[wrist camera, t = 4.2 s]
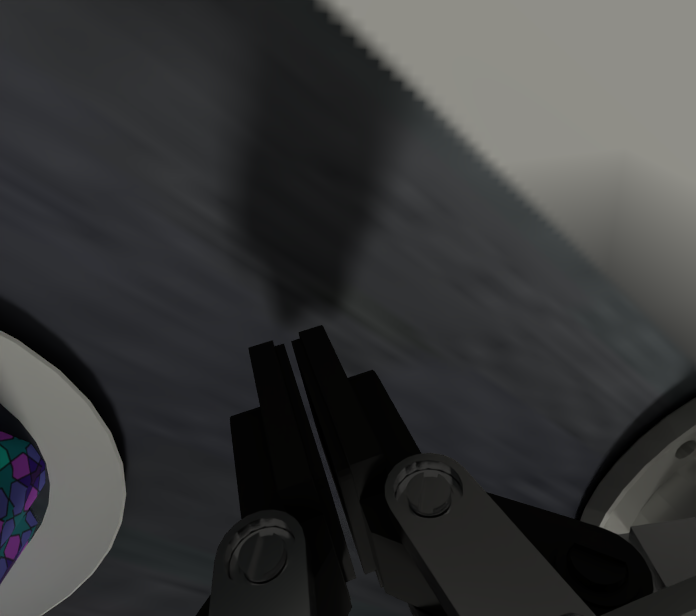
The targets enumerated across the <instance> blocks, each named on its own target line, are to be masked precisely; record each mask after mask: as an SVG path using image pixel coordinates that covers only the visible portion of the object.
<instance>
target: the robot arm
mask: <svg viewBox="0 0 696 616" xmlns="http://www.w3.org/2000/svg"><path fill="white" fill-rule="evenodd" d="M299 336H300V339H297V340H294V341H291V342H292V346H293V349H294V353H295V356H296V360H297V363H298V366H299V370H300V373H301V377H302V380H303V384H304V387H305V391H306V394H307V398H308V401H309V404H310V408H311V411H312V415H313V418H314V422H315V425H316V429H317V432H318V435H319V438H320V441H321V445H322V448H323V451H324V454H325V457H326V460H327V463H328V466H329V469H330V472H331V474H332V477H333V480H334V483H335V486H336V489H337V492H338V495H339V498H340V501H341V504H342V507H343V510H344V513H345V516H346V519H347V522H348V525H349V528H350V531H351V534H352V537H353V540H354V543H355V546H356V549H357V552H358V555H359V558H360V561H361V564H362V567H363V570H364V573H365V574H368V573H370V572H373V571H375V572H376V574H377V577H378V580H379V583H380V586H381V588H382V587H384V589H385V592H386V593H387V594H389V595H392V596H394V597H396V598H398V599H400V600H403V601H405V602H407V603H408V606H409V608H410V611H411V613H412V615H413V616H696V397H695V398H693V399H691V400H690V401H688V402H687V403H685V404H684V405H682V406H681V407H679V408H678V409H676V410H675V411H673V412H672V413H670V414H669V415H667V416H666V417H664V418H663V419H662V420H661V421H659V422H658V423H657V424H656V425H655V426H653V427H652V428H651V429H650V430H648V431H647V432H646V433H645V434H644V435H642V436H641V437H640V438H639V439H638V440H637V441H636V442H635V443H634V444H633V445H632V446H631V447H630V448H629V449H628V450H627V451H626V452H625V453H624V454H623V455H622V456H621V457H620V458H619V459H618V460H617V461H616V462H615V464H614V465H613V466H612V467H611V469H610V470H609V471H608V472H607V474H606V475H605V476H604V478H603V479H602V480H601V481H600V483H599V484H598V486H597V487H596V489H595V491H594V492H593V494H592V496H591V498H590V499H589V501H588V503H587V504H586V506H585V509H584V511H583V514H582V516H581V519H580V521H579V520H576V519H572V518H569V517H566V516H563V515H559V514H556V513H553V512H550V511H546V510H543V509H540V508H536V507H533V506H530V505H527V504H523V503H520V502H517V501H514V500H510V499H507V498H504V497H500V496H497V495H494V494H491V493H487V492H485V491H484V490H483V488H482V487H481V486H480V485H479V484H478V483H477V482H476V481H475V479H474V478H473V477H472V476H471V475H470V474H469V473H468V472H467V470H466V469H465V468H464V467H463V466H461V465H460V464H459V463H458V462H456V461H455V460H454V459H451V458H449V457H447V456H444V455H440V454H434V453H424V454H421V452H420V450H419V448H418V447H417V445H416V443H415V441H414V440H413V438H412V436H411V434H410V432H409V431H408V429H407V427H406V425H405V424H404V422H403V420H402V418H401V417H400V415H399V413H398V411H397V409H396V408H395V406H394V404H393V402H392V401H391V399H390V397H389V395H388V394H387V392H386V390H385V388H384V386H383V385H382V383H381V381H380V379H379V378H378V376H377V374H376V373H375V371H373V370H370V371H367V372H364V373H361V374H358V375H355V376H352V377H349V378H347V376H346V374H345V372H344V370H343V367H342V365H341V363H340V361H339V359H338V357H337V355H336V353H335V351H334V348H333V346H332V344H331V342H330V340H329V338H328V336H327V334H326V332H325V329H324V327H323V326H322V325H321V326H317V327H314V328H311V329H308V330H304V331H301V332H299ZM249 354H250V358H251V363H252V368H253V373H254V378H255V383H256V388H257V393H258V398H259V403H260V407H258V408H255V409H252V410H249V411H246V412H243V413H240V414H237V415H234V416H231V417H230V426H231V434H232V443H233V451H234V460H235V468H236V477H237V485H238V494H239V502H240V511H241V519H242V520H240V521H238V522H237V523H235V524H234V526H233V527H232V528H231V529H230V530H229V531H228V532H227V533H226V534H225V535H224V537H223V539H222V541H221V542H220V544H219V546H218V548H217V552H216V556H215V560H214V568H213V577H212V587H211V595H210V596H209V598H208V599H207V601H206V602H205V603H204V605H203V606H202V608H201V609H200V610H199V612H198V613H197V615H196V616H348V614H349V612H350V610H351V608H352V605H351V601H350V600H351V599H350V595H349V592H348V589H347V585H346V582H347V581H350V580H353V579H355V578H356V575H355V572H354V568H353V565H352V562H351V558H350V555H349V552H348V548H347V545H346V541H345V538H344V535H343V531H342V528H341V524H340V521H339V518H338V514H337V511H336V508H335V504H334V501H333V497H332V494H331V491H330V487H329V484H328V481H327V477H326V474H325V471H324V468H323V464H322V461H321V458H320V455H319V452H318V449H317V446H316V443H315V439H314V436H313V433H312V430H311V427H310V424H309V421H308V418H307V414H306V411H305V408H304V405H303V402H302V399H301V396H300V393H299V390H298V386H297V383H296V380H295V377H294V374H293V371H292V368H291V365H290V361H289V358H288V355H287V352H286V349H285V346H284V344H281V345H278V346H275V347H274V343H273V340H272V341H269V342H266V343H262V344H259V345H256V346H253V347H249Z"/></svg>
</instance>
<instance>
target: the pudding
mask: <svg viewBox="0 0 696 616" xmlns="http://www.w3.org/2000/svg"><path fill="white" fill-rule="evenodd" d="M0 404H1V405H3V406H4V407H5V408H6V409H7V410H8V411H9V412H10V413H12V414H13V415H14V416H15V417H16V418H17V419H18V420H19V421H20V422H21V423H22V424H23V426H24V427H25V428H26V430H27V431H28V432H29V433H30V435H31V436H32V437H33V439H34V440H35V441H36V443H37V445H38V447H39V449H40V451H41V453H42V456H43V458H44V460H45V462H46V465H47V470H48V475H49V481H50V493H49V505H48V508H47V511H46V513H45V516H44V519H43V522H42V524H41V526H40V527H39V529H38V530H37V532H36V534H35V535H34V537H33V538H32V540H31V541H30V539H31V536H32V534H33V532H34V530H35V527H36V525H37V521H36V520H35V518H34V516H33V515H32V513H31V511H30V510H29V507H30V506H31V504H32V503H33V501H34V500H35V498H36V497H37V495H38V494H39V493H40V491H41V490H42V488H43V487H44V485H45V463H44V462H43V460H42V459H41V457H40V456H39V454H38V453H37V451H36V450H35V449H34V447H33V446H32V444H31V443H29V442H27V441H24V440H22V439H19V438H16V437H14V436H11V435H9V434H6V433H4V432H1V431H0V616H41V615H43V614H44V613H46V612H47V611H49V610H50V609H52V608H53V607H54V606H56V605H57V604H59V603H60V602H62V601H63V600H64V599H66V598H67V597H69V596H70V595H71V594H72V593H73V592H74V591H75V590H76V589H77V588H78V587H79V586H80V585H82V584H83V583H84V582H85V581H86V580H87V579H88V578H89V577H90V576H91V575H92V574H93V573H94V571H95V570H96V569H97V567H98V566H99V564H100V563H101V562H102V560H103V559H104V557H105V556H106V555H107V553H108V552H109V550H110V549H111V547H112V544H113V542H114V540H115V537H116V535H117V532H118V530H119V528H120V525H121V523H122V518H123V511H124V505H125V498H126V488H125V479H124V469H123V463H122V460H121V458H120V455H119V452H118V450H117V447H116V444H115V442H114V439H113V436H112V434H111V432H110V430H109V429H108V427H107V426H106V424H105V423H104V421H103V420H102V418H101V417H100V415H99V414H98V412H97V411H96V409H95V408H94V406H93V405H92V403H91V402H90V400H89V399H88V398H87V397H86V396H85V395H84V394H83V393H82V392H81V391H80V390H79V389H78V388H77V387H76V386H75V385H74V384H73V383H72V382H71V381H70V380H69V379H68V378H67V377H66V376H65V375H64V374H63V373H62V372H61V371H60V370H59V369H57V368H56V367H55V366H53V365H52V364H51V363H49V362H48V361H46V360H45V359H44V358H42V357H41V356H40V355H38V354H37V353H35V352H34V351H33V350H31V349H30V348H29V347H27V346H26V345H24V344H23V343H22V342H20V341H19V340H17V339H16V338H14V337H12V336H10V335H8V334H6V333H4V332H2V331H0ZM29 541H30V542H29Z"/></svg>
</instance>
